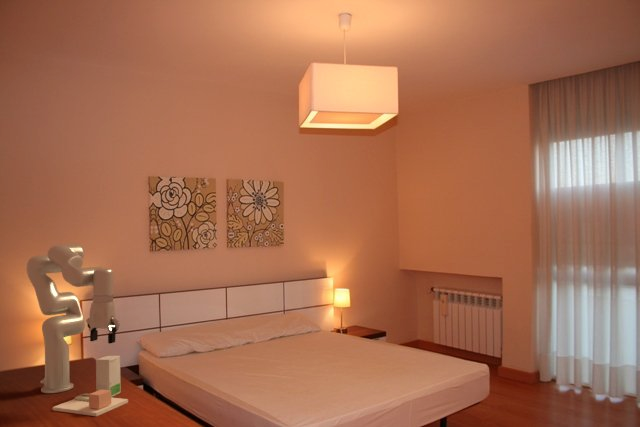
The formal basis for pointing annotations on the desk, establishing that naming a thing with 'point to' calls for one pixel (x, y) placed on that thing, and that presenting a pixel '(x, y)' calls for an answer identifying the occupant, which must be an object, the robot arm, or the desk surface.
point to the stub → (99, 399)
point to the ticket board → (87, 406)
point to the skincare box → (108, 374)
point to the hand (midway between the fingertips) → (102, 341)
